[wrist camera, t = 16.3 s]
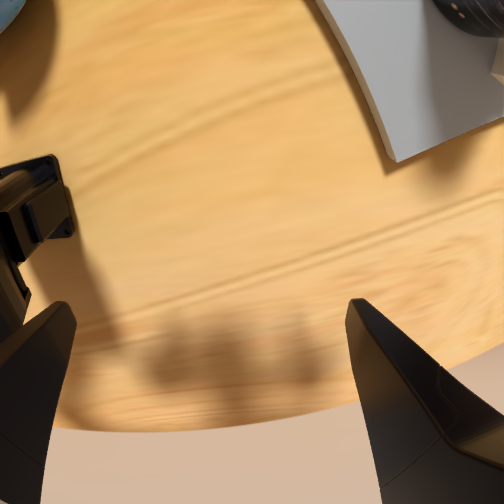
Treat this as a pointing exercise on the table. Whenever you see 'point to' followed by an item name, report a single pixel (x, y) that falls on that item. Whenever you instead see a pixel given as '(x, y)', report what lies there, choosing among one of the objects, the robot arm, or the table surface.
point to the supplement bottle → (475, 16)
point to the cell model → (9, 12)
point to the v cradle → (418, 71)
